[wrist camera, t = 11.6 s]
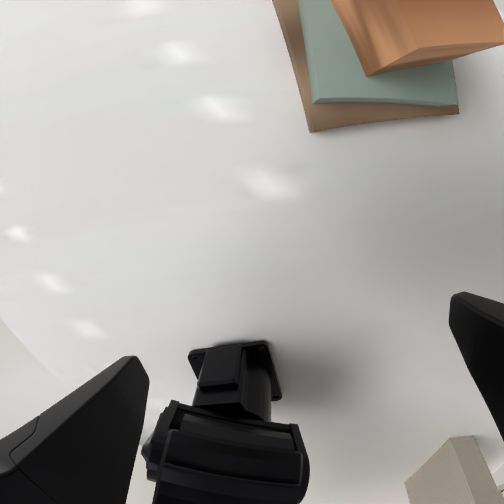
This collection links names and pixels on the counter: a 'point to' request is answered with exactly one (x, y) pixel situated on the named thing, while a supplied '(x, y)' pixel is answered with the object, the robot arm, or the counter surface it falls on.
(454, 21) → the block
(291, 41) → the tower base
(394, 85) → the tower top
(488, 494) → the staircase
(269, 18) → the counter surface
